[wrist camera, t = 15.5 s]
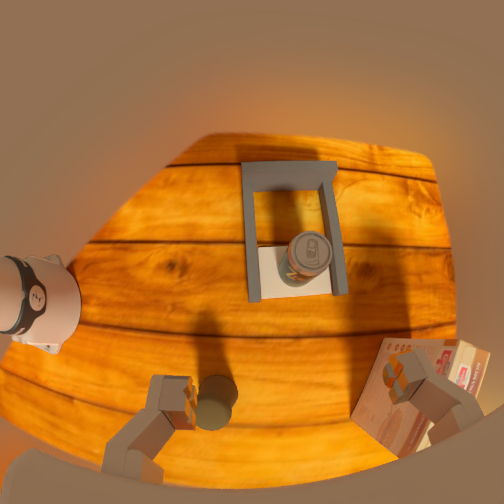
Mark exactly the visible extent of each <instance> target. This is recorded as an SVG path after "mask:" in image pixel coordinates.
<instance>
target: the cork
mask: <svg viewBox="0 0 504 504" xmlns="http://www.w3.org/2000/svg"><path fill="white" fill-rule="evenodd" d="M237 398H238V390H237V387H236V385H235V384H234V382H233V381H232V380H230V379H229V378H227V377H225V376H222V375H213V376H210V377H208V378H206V379H205V380H204V381H203V382H202V383H201V385H200V388H199V393H198V395H197V407H196V408H195V410H194V413H195V415H196V425H197V426H198V427H200V428H202V429H204V430H210V431H213V430H219V429H221V428H223V427H224V426H225V425H226V424H227V423H228V422H229V420H230V418H231V413H232V409H231V408H232V407H233V405H234V404H235V402H236V400H237Z"/></svg>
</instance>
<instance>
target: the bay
mask: <svg viewBox="0 0 504 504" xmlns="http://www.w3.org/2000/svg"><path fill="white" fill-rule="evenodd" d="M241 165H242V187H243V205H244V223H245V240H246V258H247V274H248V291H249V303H255V302H260V301H261V299H266V298H280V297H293V296H305V295H317V294H328V293H331V284H330V274H329V266H328V268H327V269H326V270H325V271H324V272H323V273H321V274H320V275H318V276H317V277H316V278H314V279H313V280H311V281H310V282H309V283H307V284H306V285H304V286H301V287H291V286H288V285H286V284H285V283H284V282H283V281H282V280H281V278H280V276H279V270H278V267H279V264H280V261H281V259H282V257H283V255H284V253H285V251H286V249H287V247H288V246H277V247H259V248H258V255H259V269H260V284H261V299H260V284H259V270H258V255H257V241H256V226H255V212H254V198H253V192H263V191H292V190H319V196H320V202H321V208H322V214H323V220H324V227H325V234H326V238H327V240H328V241H329V242H330V245H331V247H332V258H331V262H330V273H331V282H332V291H333V296H339V295H344V294H347V293H349V291H348V282H347V273H346V265H345V258H344V251H343V244H342V237H341V231H340V225H339V219H338V213H337V207H336V202H335V197H334V192H333V187H332V180H333V178H334V177H335V175H336V173H337V171H338V167H337V162H336V161H260V162H241Z"/></svg>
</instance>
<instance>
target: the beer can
mask: <svg viewBox="0 0 504 504" xmlns="http://www.w3.org/2000/svg"><path fill="white" fill-rule="evenodd" d="M331 258H332V247H331V245H330V242H329V241H328V240H327V238H326V237H325V236H323V235H322V234H321V233H318V232H315V231H306V232H303V233H300V234H298V235H297V236H295V237H294V238H293V239H292V241H291V242H290V243H289V245H288V247H287V249H286V251H285V253H284V255H283V257H282V259H281V261H280V264H279V267H278V270H279V276H280V278H281V280H282V281H283V282H284V283H285V284H286V285H288V286H291V287H301V286H304V285H306V284H307V283H309V282H310V281H311V280H313V279H314V278H316V277H317V276H318V275H320V274H321V273H323V272H324V271H325V270H326V269H327V268H328V266H329V265H330V262H331Z"/></svg>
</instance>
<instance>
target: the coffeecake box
mask: <svg viewBox="0 0 504 504" xmlns="http://www.w3.org/2000/svg"><path fill="white" fill-rule="evenodd" d="M418 347H421V348H422V349H423V350H424V351H425V353H426V355H427V357H428V358H429V360H430V362H431V364H432V366H433V368H434V369H435V371H436V373H437V374H439V373H440V374H441V375H443V376H444V377H446V378H447V379H449V380H450V381H452V382H454V383H455V384H457V385H458V386H460V387H461V388H463V389H465V390H466V391H468V392H469V393H471V394H472V395H474V397H475V398H477V395H478V392H479V389H480V386H481V383H482V380H483V377H484V373H485V370H486V367H487V363H488V359H489V356H490V353H489V352H487V351H485V350H483V349H481V348H479V347H477V346H474V345H472V344H470V343H468V342H466V341H463V340H461V339H404V338H384V339H383V342H382V344H381V347H380V350H379V352H378V355H377V358H376V360H375V363H374V365H373V368H372V370H371V373H370V375H369V378H368V380H367V382H366V385H365V387H364V389H363V392H362V394H361V396H360V398H359V400H358V403H357V405H356V407H355V409H354V411H353V413H352V415H351V417H350V419H351V420H352V421H353V422H355V423H356V424H357V425H358V426H359V427H361V428H362V429H363V430H364V431H366V432H367V433H368V434H369V435H370V436H372V437H373V438H374V439H375V440H376V441H378V442H379V443H380V444H381V445H383V446H384V447H385V448H387V449H388V450H389V451H390V452H392V453H393V454H394V455H396V456H397V457H398V458H399V459H400V458H403V457H406V456H408V455H411V454H413V453H416V452H418V451H420V450H423V449H425V448H427V447H429V446H431V443H430V440H429V438H428V435H427V432H428V430H429V429H431V428H432V427H433V426H434V425H435V424H434V423H433V422H431V421H430V420H429V419H428V418H427V417H426V416H425V415H423V414H422V413H421V412H420V411H419V410H418V409H416V408H415V407H414V406H413V405H412V404H411V403H410V402H409V401H406V402H403V403H399V404H396V405H393V404H392V401H391V399H390V396H389V394H388V393H389V389H390V388H388V387H387V386H385V384H384V381H383V377H382V375H383V369H384V367H385V365H386V364H388V363H389V361H388V359H389V357H390V355H392V354H395V353H399V352H403V351H406V350H411V349H414V348H418Z"/></svg>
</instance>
